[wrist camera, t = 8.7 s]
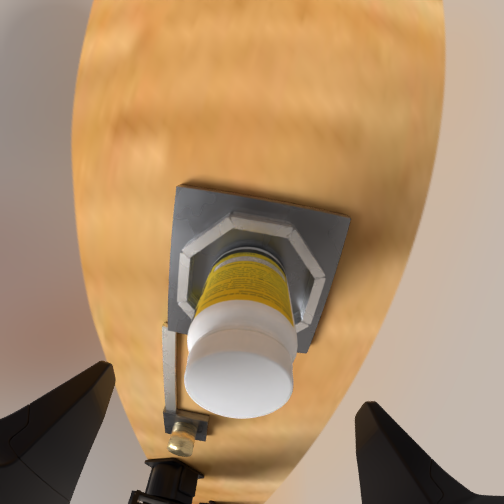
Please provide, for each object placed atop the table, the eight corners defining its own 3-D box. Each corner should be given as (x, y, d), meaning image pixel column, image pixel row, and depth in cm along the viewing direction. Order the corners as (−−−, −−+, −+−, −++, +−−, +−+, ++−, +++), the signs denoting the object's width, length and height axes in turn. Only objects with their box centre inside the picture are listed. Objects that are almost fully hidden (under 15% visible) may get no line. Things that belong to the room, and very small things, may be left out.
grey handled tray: (264, 443, 25) (263, 471, 22) (166, 427, 25) (159, 454, 21) (347, 215, 16) (369, 234, 12) (169, 182, 16) (144, 193, 12)
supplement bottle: (199, 254, 16) (151, 348, 8) (278, 236, 16) (295, 328, 8) (221, 320, 18) (200, 426, 10) (293, 307, 17) (310, 415, 10)
